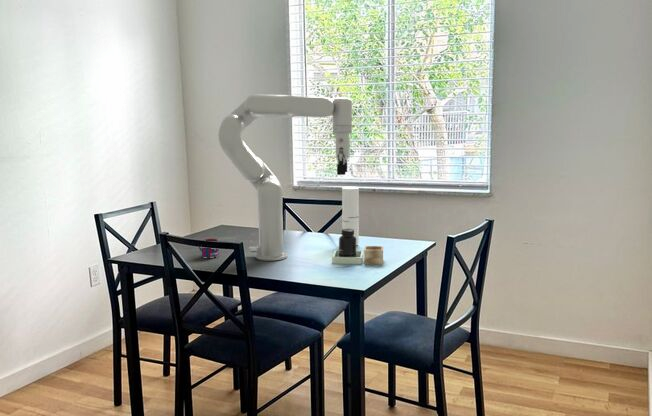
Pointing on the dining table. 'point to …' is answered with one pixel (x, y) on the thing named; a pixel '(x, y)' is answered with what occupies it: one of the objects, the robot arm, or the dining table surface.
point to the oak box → (373, 255)
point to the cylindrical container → (350, 210)
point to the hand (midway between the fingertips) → (342, 173)
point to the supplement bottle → (347, 243)
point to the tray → (347, 258)
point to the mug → (209, 250)
